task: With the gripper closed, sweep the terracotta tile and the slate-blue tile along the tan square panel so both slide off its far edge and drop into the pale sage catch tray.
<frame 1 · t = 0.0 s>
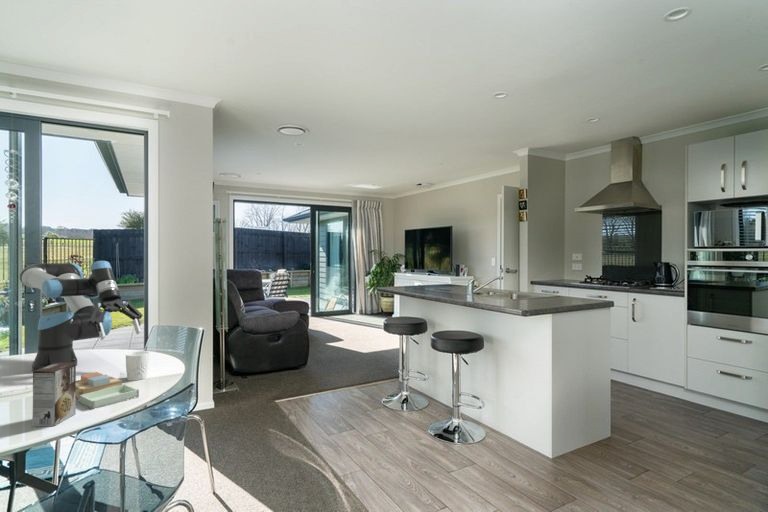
hand: (121, 335, 169), 15 cm above the table, tool tilted 35°, fingers open, 13 cm apart
white cup: (136, 378, 161), on the table
cookie box: (54, 420, 120), on the table
catch tray: (109, 399, 137), on the table
tile b: (98, 383, 142), point 4 cm above the table, touching tan square panel
tan square panel: (94, 392, 144), on the table
tile a: (91, 380, 145), point 4 cm above the table, touching tan square panel
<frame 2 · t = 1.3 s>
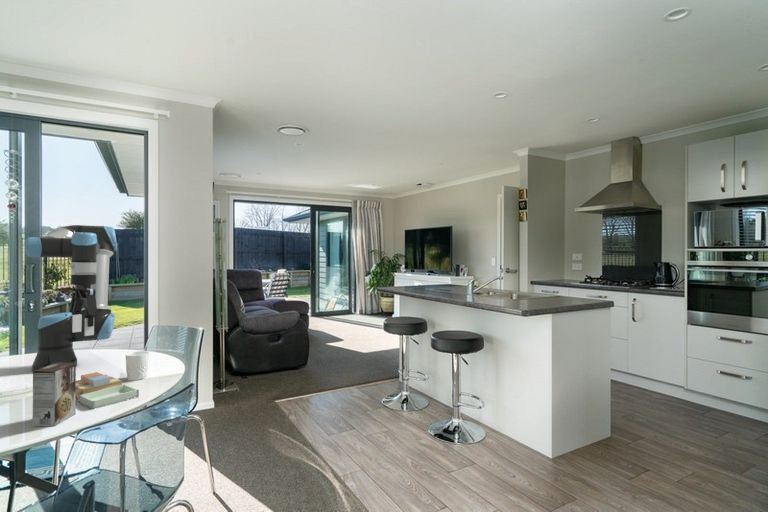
hand: (82, 333, 150), 20 cm above the table, tool pointing down, fingers open, 10 cm apart
nothing on the table moved.
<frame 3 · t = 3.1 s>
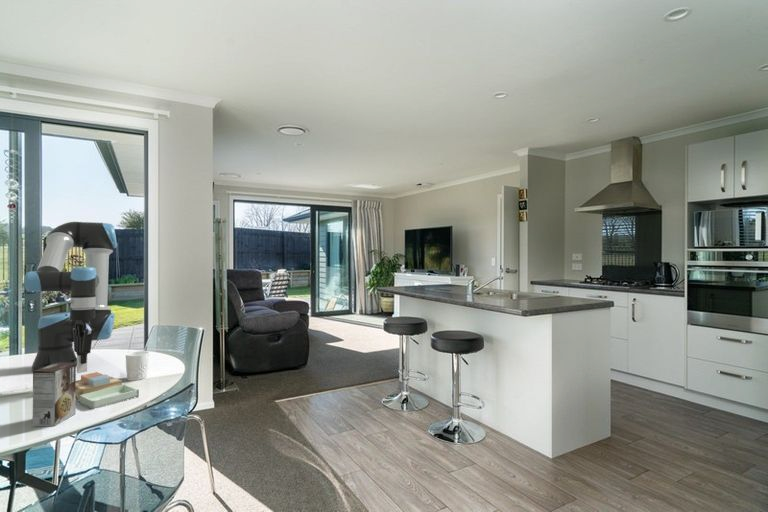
hand: (81, 371, 149), 6 cm above the table, tool pointing down, fingers closed
nothing on the table moved.
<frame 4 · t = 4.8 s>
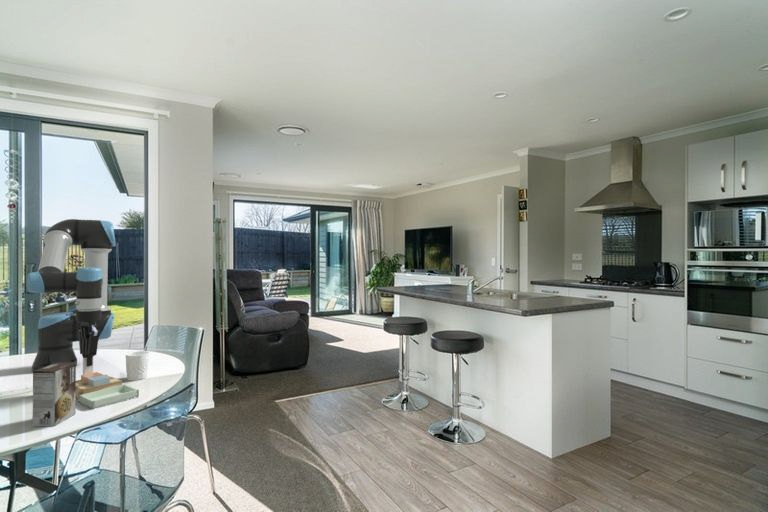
hand: (87, 374, 147), 6 cm above the table, tool pointing down, fingers closed
tile a: (92, 380, 145), point 4 cm above the table, touching gripper
everything else where it was.
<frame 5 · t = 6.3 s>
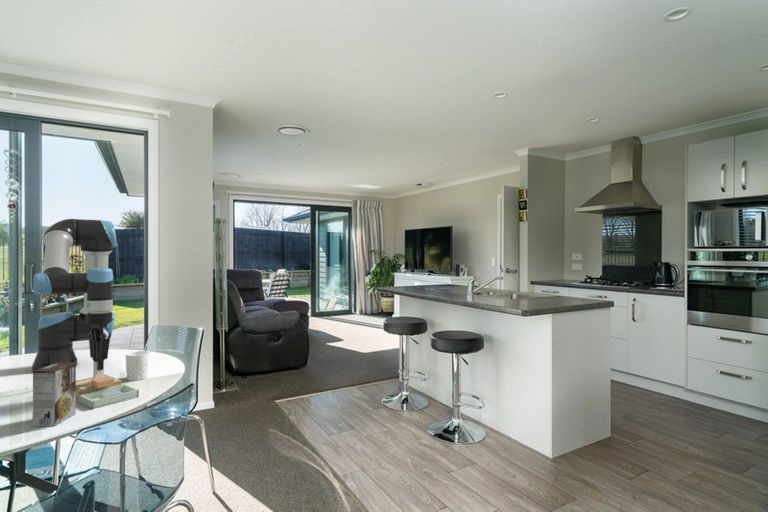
hand: (98, 378, 142), 6 cm above the table, tool pointing down, fingers closed
tile b: (111, 393, 137), point 2 cm above the table, tilted 180°, touching catch tray
tile a: (102, 384, 140), point 4 cm above the table, touching gripper
everything else where it was.
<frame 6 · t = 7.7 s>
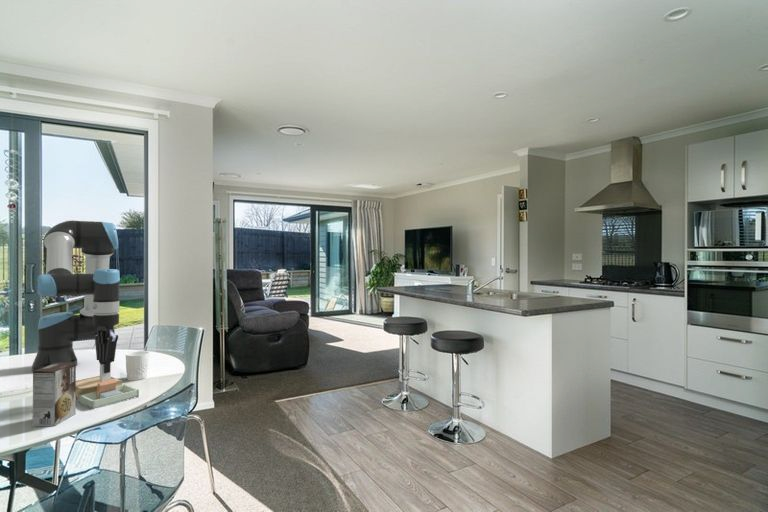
hand: (105, 381, 139), 5 cm above the table, tool pointing down, fingers closed
tile a: (105, 387, 139), point 4 cm above the table, tilted 109°, touching catch tray, gripper
everything else where it was.
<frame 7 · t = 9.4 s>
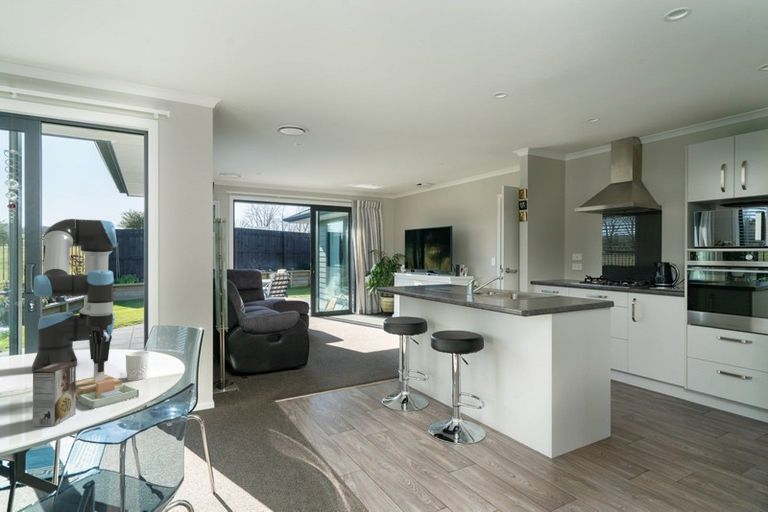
hand: (98, 380, 142), 5 cm above the table, tool pointing down, fingers closed
tile a: (103, 388, 140), point 3 cm above the table, tilted 90°, touching catch tray
everything else where it was.
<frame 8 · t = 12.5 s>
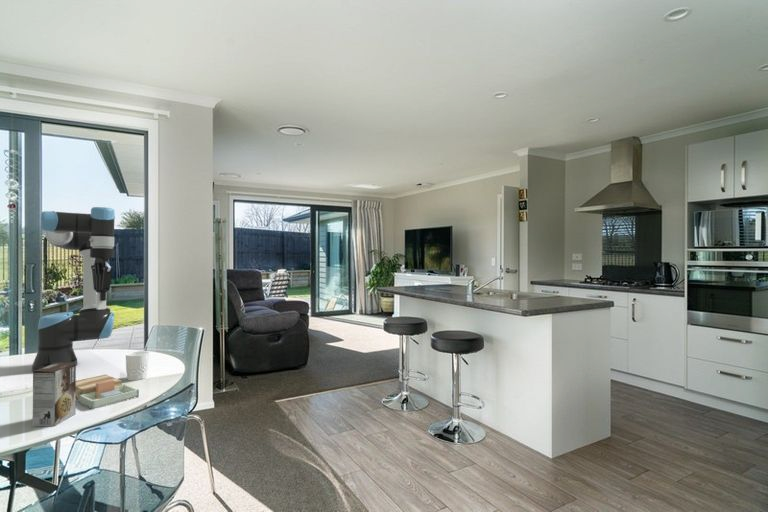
hand: (101, 309, 155), 28 cm above the table, tool pointing down, fingers closed
nothing on the table moved.
at the end: tile a inside the target area (4.9 cm from its centre), point 3.0 cm above the table; tile b inside the target area (0.7 cm from its centre), point 2.5 cm above the table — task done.
